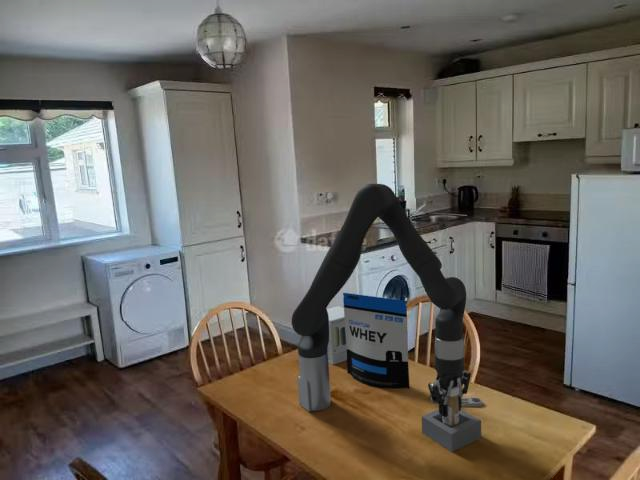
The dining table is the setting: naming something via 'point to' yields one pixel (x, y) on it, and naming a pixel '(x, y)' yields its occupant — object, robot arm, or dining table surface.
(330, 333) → the supplement box
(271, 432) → the dining table surface
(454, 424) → the sprinkles bottle
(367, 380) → the protein powder
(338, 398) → the dining table surface
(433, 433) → the well
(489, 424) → the dining table surface
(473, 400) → the bracket
